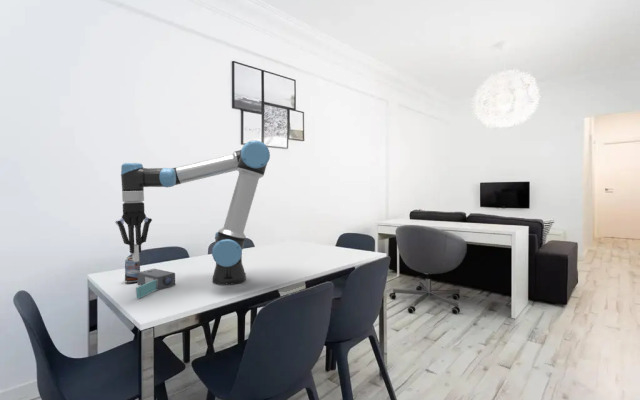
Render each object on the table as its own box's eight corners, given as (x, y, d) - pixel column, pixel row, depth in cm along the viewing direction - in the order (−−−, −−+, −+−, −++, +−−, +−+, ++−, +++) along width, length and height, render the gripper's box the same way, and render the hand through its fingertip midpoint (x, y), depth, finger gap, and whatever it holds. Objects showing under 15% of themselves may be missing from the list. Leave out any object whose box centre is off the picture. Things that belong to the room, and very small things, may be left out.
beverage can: (124, 284, 150) (123, 258, 149) (126, 280, 156) (125, 255, 156) (139, 283, 152) (139, 257, 152) (141, 279, 159) (140, 254, 158)
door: (156, 288, 141) (155, 279, 141) (159, 288, 141) (159, 279, 141) (135, 298, 129) (135, 287, 129) (139, 298, 129) (139, 287, 129)
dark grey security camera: (176, 285, 148) (176, 272, 147) (159, 290, 141) (159, 276, 141) (154, 280, 157) (154, 267, 157) (137, 284, 150) (137, 271, 150)
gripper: (146, 201, 139) (149, 257, 140) (111, 202, 129) (114, 262, 130) (154, 201, 134) (156, 259, 135) (118, 203, 124) (121, 265, 125)
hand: (135, 260), depth 132 cm, fingers closed
